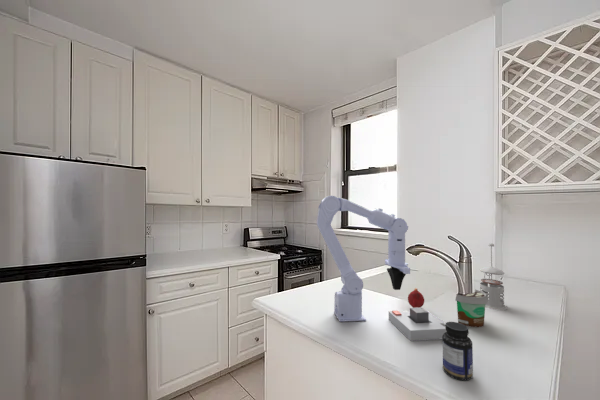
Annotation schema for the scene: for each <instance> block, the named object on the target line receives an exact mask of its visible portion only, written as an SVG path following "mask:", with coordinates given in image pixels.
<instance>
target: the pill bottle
mask: <svg viewBox="0 0 600 400" xmlns="http://www.w3.org/2000/svg"><path fill="white" fill-rule="evenodd" d="M445 326H446V327H445V329H446V331H447V332H445V333H444V334H443V336H442V339H441V340H442V370H443V372H444V373H446V374H447V375H448V376H449V377H451V378H453V379H454V380H458V381H469V380H472V379H473V375H474V372H473V371H474V370H473V369H474V366H473V365H474V363H473V362H474V361H473V357H474V356H473V355H474V353H473V341H472V339H471V337H469V336H468V335H469V334H470V332H469V327H468V326H465V325H463V324H461V323H458V322H457V321H447V322H446V324H445Z"/></svg>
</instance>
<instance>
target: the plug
mask: <svg viewBox="0 0 600 400" xmlns="http://www.w3.org/2000/svg"><path fill="white" fill-rule="evenodd" d="M426 310H427V309H424V308H423V307H420V308H413V307H409V311H410V319H411V320H413V321H414V322H415V323H429V312H430V311H429V312H427V311H428V310H427V311H426Z"/></svg>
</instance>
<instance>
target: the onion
mask: <svg viewBox="0 0 600 400" xmlns="http://www.w3.org/2000/svg"><path fill="white" fill-rule="evenodd" d="M407 302H408V304H409V305H410V306H411V308H420V307H421V308H423V306H424V305H425V298H424V295H423V294H422V293H421V292H420V290H419V291H418V288H416V287H415V288H414V289H413V290H412V291H411V292H410V293H408V297H407Z"/></svg>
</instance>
